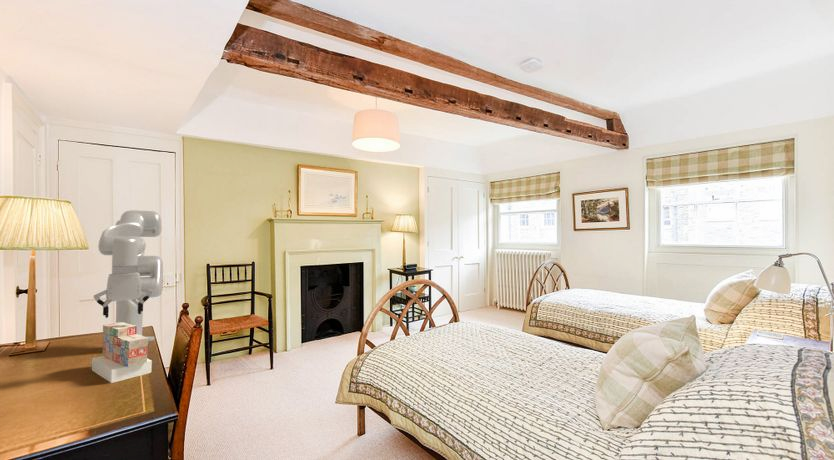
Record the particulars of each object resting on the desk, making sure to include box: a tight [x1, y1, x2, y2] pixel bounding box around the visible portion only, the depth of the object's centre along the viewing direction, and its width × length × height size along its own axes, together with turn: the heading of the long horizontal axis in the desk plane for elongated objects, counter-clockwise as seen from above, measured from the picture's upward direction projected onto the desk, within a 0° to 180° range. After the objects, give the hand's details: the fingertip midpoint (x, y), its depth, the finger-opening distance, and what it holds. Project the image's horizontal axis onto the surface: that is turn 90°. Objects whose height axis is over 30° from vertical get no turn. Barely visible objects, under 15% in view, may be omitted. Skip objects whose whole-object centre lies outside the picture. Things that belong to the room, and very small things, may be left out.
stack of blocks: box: [101, 322, 149, 367], centre depth 137 cm, size 21×6×12 cm, turn 60°
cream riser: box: [91, 356, 153, 384], centre depth 137 cm, size 12×20×5 cm, turn 57°
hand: (123, 315), depth 137 cm, fingers open, 9 cm apart
